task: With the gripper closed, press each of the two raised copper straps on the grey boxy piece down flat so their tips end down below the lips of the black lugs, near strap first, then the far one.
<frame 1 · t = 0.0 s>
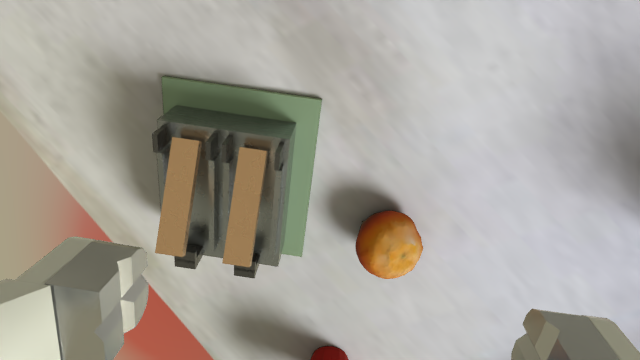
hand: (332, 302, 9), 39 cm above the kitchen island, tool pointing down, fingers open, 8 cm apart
board: (235, 172, 52), on the kitchen island
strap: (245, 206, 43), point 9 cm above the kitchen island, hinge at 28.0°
grey boxy piece: (225, 194, 49), on the board, point 4 cm above the kitchen island
plastic cup: (330, 358, 67), on the kitchen island
fruit: (386, 228, 55), on the kitchen island
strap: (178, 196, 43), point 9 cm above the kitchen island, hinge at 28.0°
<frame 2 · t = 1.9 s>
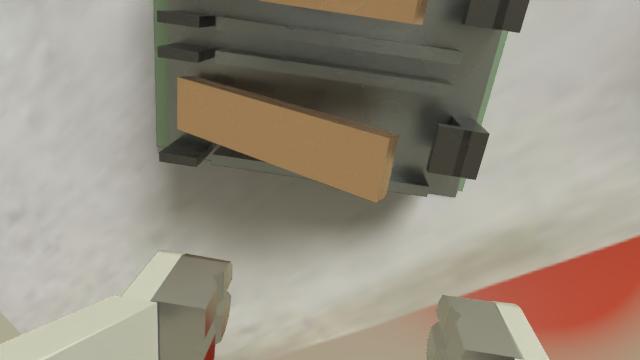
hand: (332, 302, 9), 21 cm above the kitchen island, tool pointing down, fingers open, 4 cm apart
board: (325, 43, 27), on the kitchen island
grey boxy piece: (328, 51, 23), on the board, point 4 cm above the kitchen island
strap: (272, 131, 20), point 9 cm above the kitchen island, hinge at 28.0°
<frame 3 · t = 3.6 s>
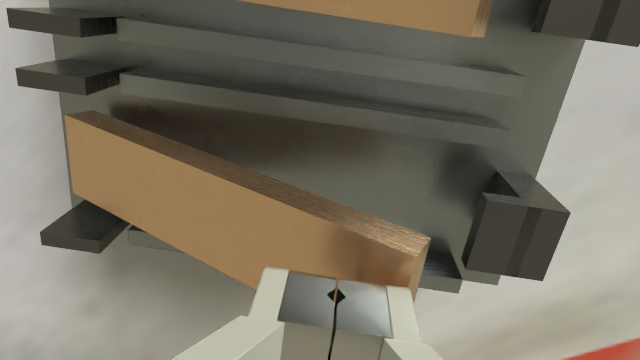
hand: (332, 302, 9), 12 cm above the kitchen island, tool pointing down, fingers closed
grey boxy piece: (307, 70, 15), on the board, point 4 cm above the kitchen island
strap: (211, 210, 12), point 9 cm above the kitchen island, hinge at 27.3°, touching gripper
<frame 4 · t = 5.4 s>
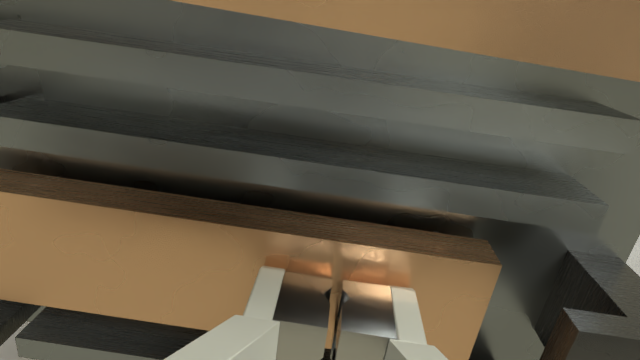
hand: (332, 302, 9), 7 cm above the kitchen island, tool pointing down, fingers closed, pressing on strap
grey boxy piece: (283, 99, 10), on the board, point 4 cm above the kitchen island
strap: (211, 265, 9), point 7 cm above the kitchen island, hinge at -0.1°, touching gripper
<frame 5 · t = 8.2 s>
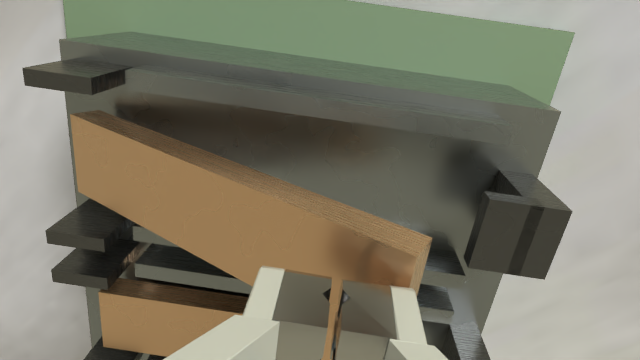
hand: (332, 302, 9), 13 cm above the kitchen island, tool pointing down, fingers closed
board: (292, 192, 22), on the kitchen island
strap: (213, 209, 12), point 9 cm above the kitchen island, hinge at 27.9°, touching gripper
grey boxy piece: (290, 238, 18), on the board, point 4 cm above the kitchen island
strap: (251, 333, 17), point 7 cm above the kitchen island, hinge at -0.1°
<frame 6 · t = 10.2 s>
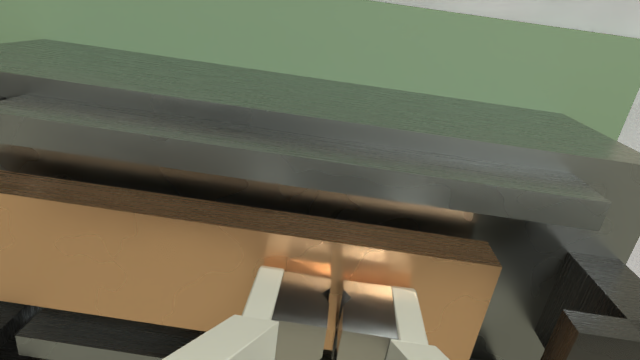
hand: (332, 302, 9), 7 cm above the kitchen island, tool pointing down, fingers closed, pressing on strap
board: (271, 247, 17), on the kitchen island
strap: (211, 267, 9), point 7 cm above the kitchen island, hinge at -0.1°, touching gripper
grey boxy piece: (261, 329, 13), on the board, point 4 cm above the kitchen island
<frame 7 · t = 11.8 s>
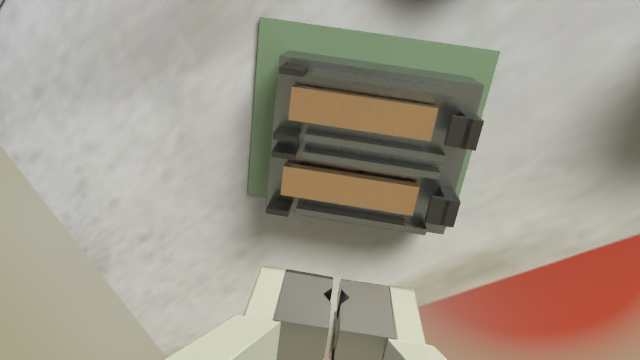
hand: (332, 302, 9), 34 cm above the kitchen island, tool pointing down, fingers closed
board: (361, 132, 42), on the kitchen island
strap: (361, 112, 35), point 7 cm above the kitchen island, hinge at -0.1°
grey boxy piece: (366, 146, 38), on the board, point 4 cm above the kitchen island
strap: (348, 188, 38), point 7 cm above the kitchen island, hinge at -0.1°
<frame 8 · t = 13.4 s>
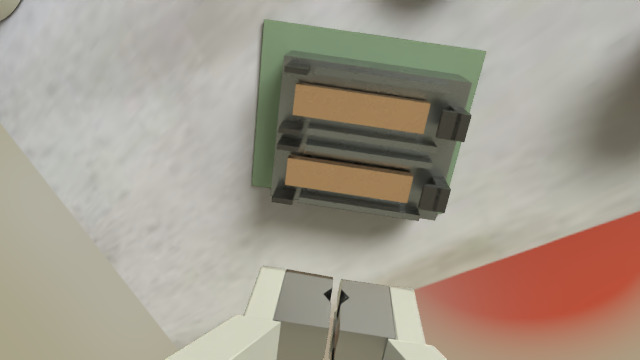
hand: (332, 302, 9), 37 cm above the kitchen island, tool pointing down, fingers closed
board: (358, 126, 45), on the kitchen island
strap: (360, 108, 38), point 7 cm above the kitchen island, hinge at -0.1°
grey boxy piece: (364, 139, 41), on the board, point 4 cm above the kitchen island
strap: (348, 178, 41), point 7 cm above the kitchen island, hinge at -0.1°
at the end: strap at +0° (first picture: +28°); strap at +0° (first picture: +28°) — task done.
